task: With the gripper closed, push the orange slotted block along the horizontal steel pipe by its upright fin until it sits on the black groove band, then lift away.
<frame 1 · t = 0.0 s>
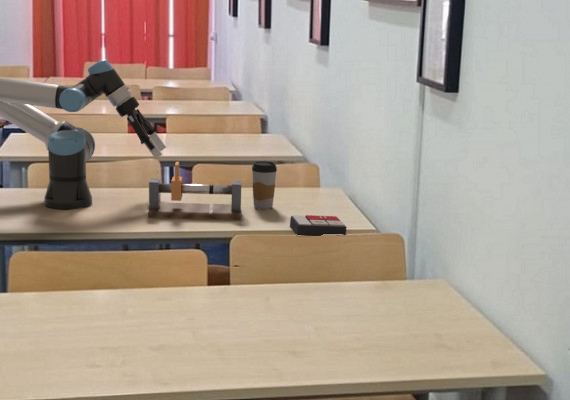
hand: (161, 153, 279), 15 cm above the table, tool tilted 35°, fingers open, 13 cm apart
pipe: (195, 195, 262), on the base board, point 6 cm above the table
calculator: (317, 232, 249), on the table
base board: (195, 213, 263), on the table
orange slotted block: (176, 180, 260), point 10 cm above the table, slide at -6.0 cm
coffee cup: (263, 207, 274), on the table
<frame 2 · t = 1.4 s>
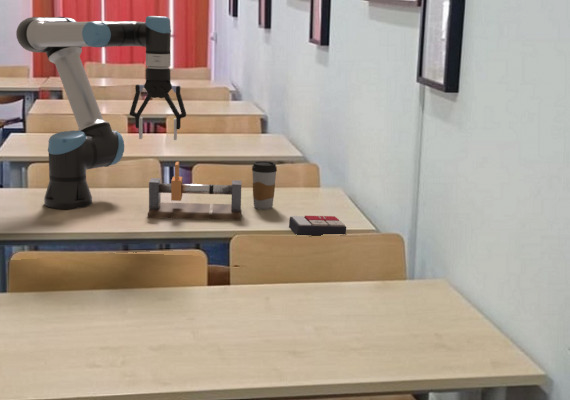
hand: (158, 138, 257), 24 cm above the table, tool pointing down, fingers open, 10 cm apart
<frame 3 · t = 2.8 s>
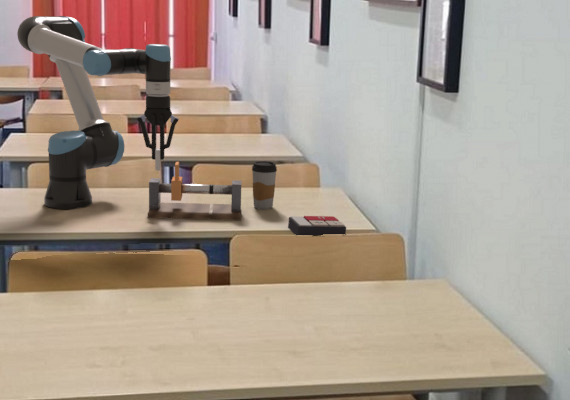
hand: (158, 169, 259), 14 cm above the table, tool pointing down, fingers closed
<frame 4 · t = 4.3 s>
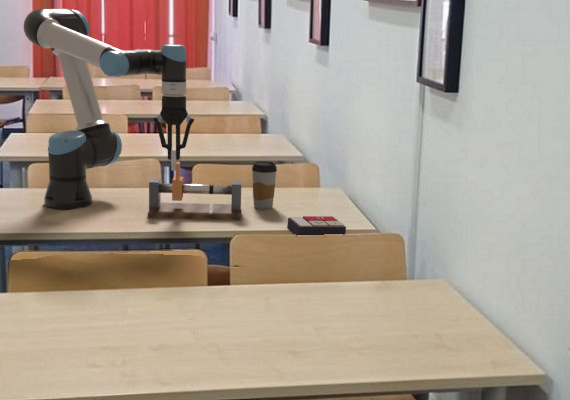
hand: (173, 169, 259), 14 cm above the table, tool pointing down, fingers closed
orange slotted block: (177, 180, 260), point 11 cm above the table, slide at -5.7 cm, touching gripper
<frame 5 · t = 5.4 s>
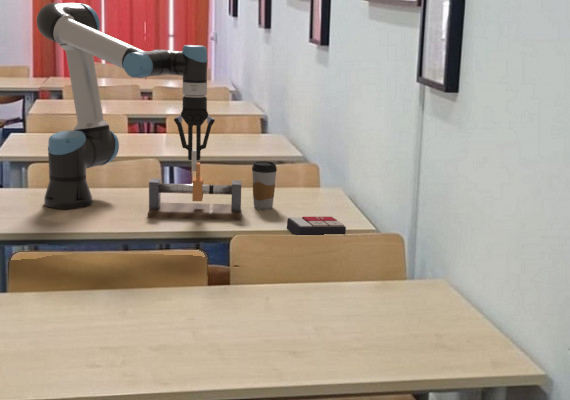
hand: (194, 170, 260), 14 cm above the table, tool pointing down, fingers closed
orange slotted block: (197, 181, 261), point 11 cm above the table, slide at 0.7 cm, touching gripper
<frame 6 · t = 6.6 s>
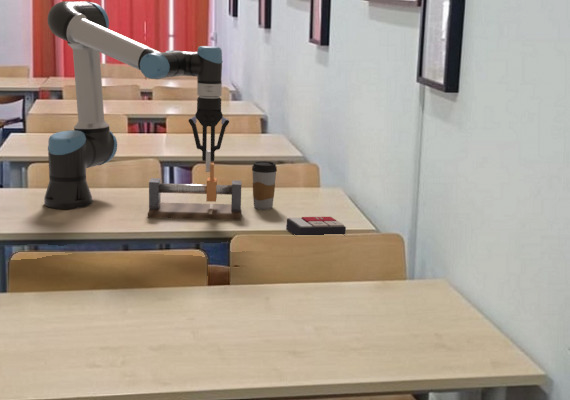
hand: (208, 171, 260), 14 cm above the table, tool pointing down, fingers closed
orange slotted block: (211, 181, 261), point 10 cm above the table, slide at 5.1 cm, touching gripper
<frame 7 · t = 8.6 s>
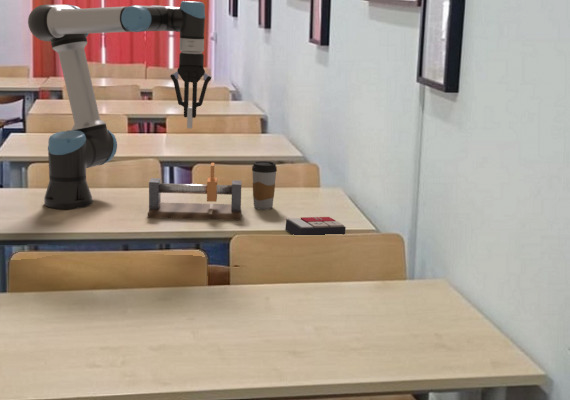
hand: (189, 127, 259), 27 cm above the table, tool pointing down, fingers closed
orange slotted block: (212, 181, 261), point 10 cm above the table, slide at 5.2 cm
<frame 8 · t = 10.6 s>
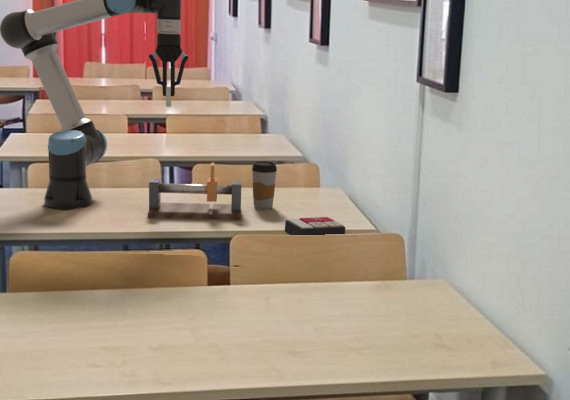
hand: (168, 106, 268), 32 cm above the table, tool pointing down, fingers closed
at the end: orange slotted block slide at 5.2 cm; coffee cup moved 0.2 cm from its start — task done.
